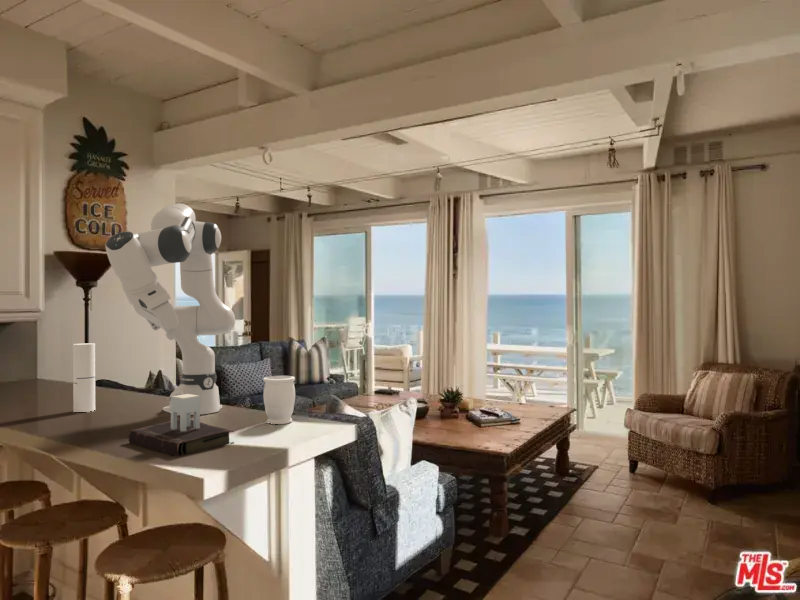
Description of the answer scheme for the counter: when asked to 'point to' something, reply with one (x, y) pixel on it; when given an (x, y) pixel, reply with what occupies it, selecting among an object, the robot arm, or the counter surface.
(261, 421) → the counter surface
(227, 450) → the counter surface
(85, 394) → the miniature refrigerator
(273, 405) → the jar
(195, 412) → the stool
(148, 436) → the diary
